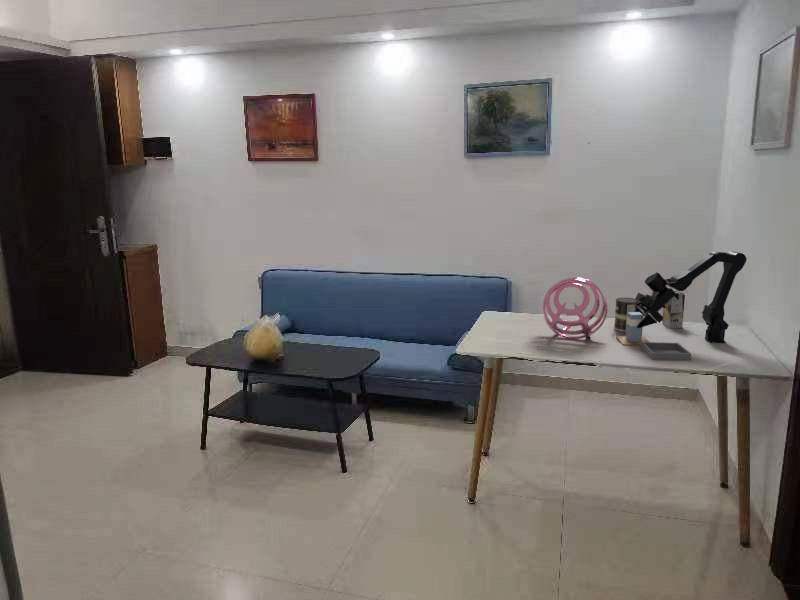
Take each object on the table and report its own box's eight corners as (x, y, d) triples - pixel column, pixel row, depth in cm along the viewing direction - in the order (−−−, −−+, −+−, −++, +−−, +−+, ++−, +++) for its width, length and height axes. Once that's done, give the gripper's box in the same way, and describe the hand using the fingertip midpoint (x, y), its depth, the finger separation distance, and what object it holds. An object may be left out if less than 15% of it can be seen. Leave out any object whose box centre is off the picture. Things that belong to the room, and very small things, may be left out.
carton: (637, 338, 256) (639, 311, 253) (641, 341, 251) (643, 314, 248) (625, 338, 256) (627, 312, 253) (629, 341, 251) (631, 315, 248)
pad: (644, 338, 258) (644, 336, 258) (652, 346, 247) (652, 344, 247) (616, 338, 260) (616, 336, 260) (622, 346, 248) (622, 344, 248)
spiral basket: (562, 283, 284) (554, 259, 261) (619, 303, 270) (615, 279, 247) (537, 333, 279) (527, 313, 256) (593, 356, 265) (588, 337, 242)
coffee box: (683, 328, 274) (685, 294, 270) (669, 328, 274) (671, 294, 270) (674, 322, 283) (677, 290, 279) (661, 323, 283) (663, 290, 279)
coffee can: (613, 330, 272) (615, 301, 269) (614, 325, 281) (616, 296, 278) (637, 332, 268) (639, 302, 265) (637, 326, 277) (639, 298, 274)
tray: (677, 349, 242) (678, 342, 241) (690, 361, 228) (691, 353, 227) (641, 349, 244) (641, 342, 243) (651, 360, 230) (652, 353, 229)
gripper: (640, 282, 257) (613, 307, 260) (657, 291, 239) (628, 317, 241) (656, 299, 258) (630, 323, 261) (675, 309, 240) (646, 335, 243)
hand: (633, 324), depth 252 cm, fingers open, 9 cm apart
